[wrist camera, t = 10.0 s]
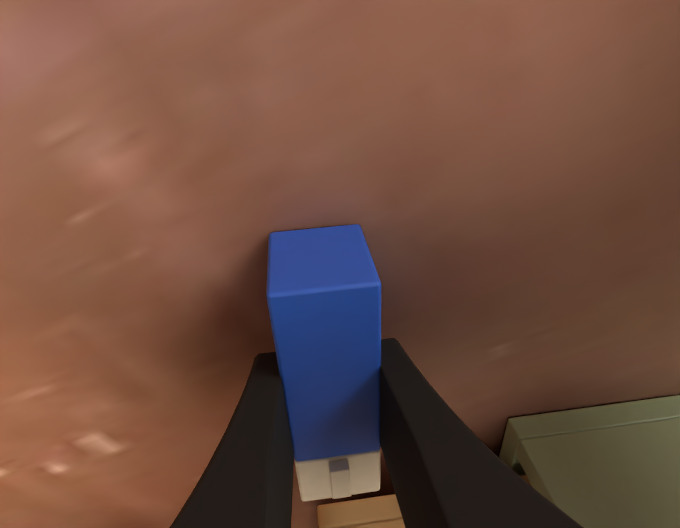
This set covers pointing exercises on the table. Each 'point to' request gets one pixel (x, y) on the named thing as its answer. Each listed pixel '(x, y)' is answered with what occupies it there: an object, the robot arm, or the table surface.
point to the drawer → (365, 513)
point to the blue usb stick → (328, 356)
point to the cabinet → (603, 461)
